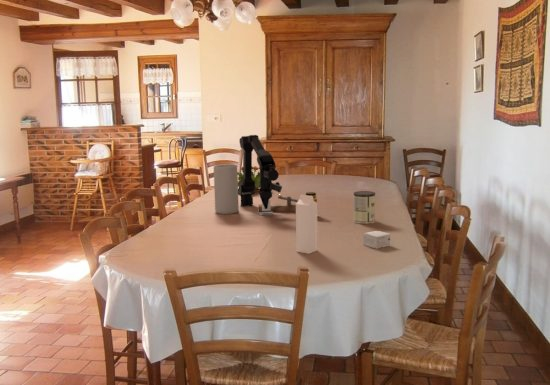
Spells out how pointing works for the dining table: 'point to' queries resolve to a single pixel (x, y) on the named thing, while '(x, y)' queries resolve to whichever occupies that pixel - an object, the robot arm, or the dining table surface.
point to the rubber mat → (266, 213)
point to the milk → (306, 224)
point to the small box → (376, 239)
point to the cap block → (267, 207)
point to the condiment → (313, 196)
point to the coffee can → (364, 207)
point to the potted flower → (255, 178)
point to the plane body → (280, 207)
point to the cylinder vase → (226, 189)
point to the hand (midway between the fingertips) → (266, 208)
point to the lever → (286, 198)
